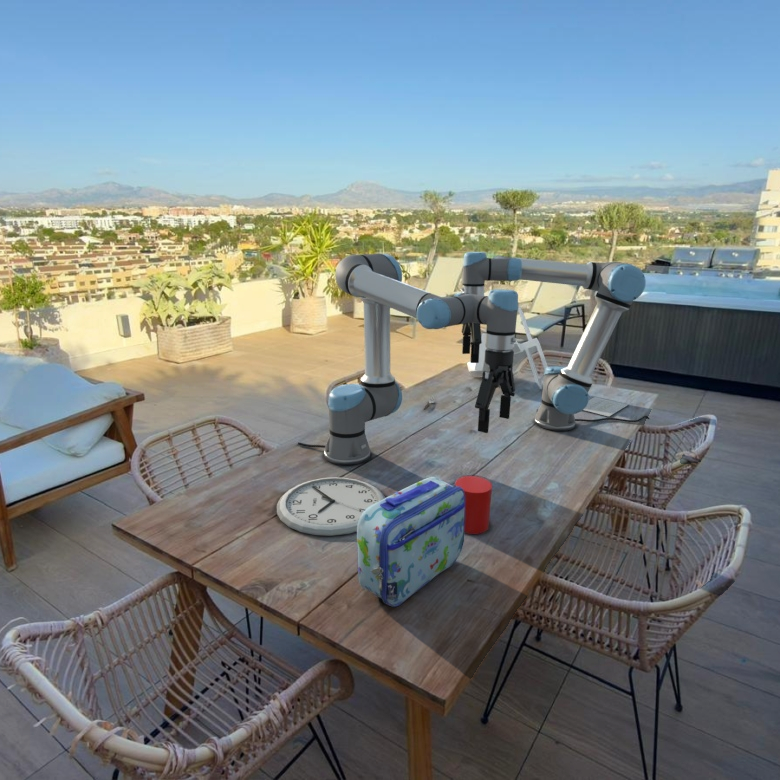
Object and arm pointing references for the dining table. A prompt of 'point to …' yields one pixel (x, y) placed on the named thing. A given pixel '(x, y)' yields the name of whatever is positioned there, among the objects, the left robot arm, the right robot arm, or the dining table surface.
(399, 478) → the dining table surface
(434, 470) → the dining table surface
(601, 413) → the invitation card
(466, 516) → the canister
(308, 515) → the wall clock
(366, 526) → the lunch box
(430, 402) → the fork
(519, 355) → the white plastic object
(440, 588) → the dining table surface
